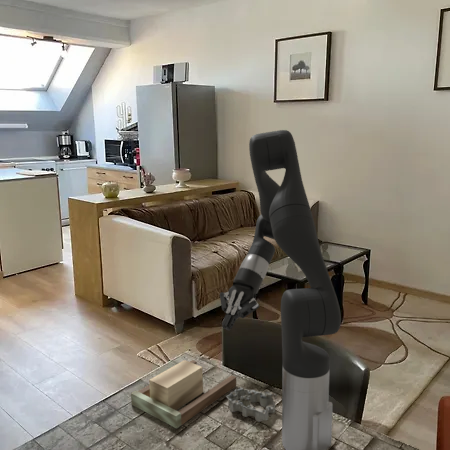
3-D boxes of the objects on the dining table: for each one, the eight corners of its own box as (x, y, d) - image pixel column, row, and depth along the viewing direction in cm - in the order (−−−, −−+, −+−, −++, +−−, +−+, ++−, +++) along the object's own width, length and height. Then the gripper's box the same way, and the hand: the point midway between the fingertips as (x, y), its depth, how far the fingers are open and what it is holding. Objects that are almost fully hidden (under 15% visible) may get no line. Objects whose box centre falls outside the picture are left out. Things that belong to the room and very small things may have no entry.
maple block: (203, 392, 114) (202, 366, 113) (168, 416, 105) (167, 388, 103) (185, 385, 118) (184, 359, 116) (150, 406, 108) (149, 379, 107)
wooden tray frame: (236, 386, 116) (236, 375, 116) (176, 428, 100) (176, 416, 99) (192, 368, 126) (192, 358, 125) (131, 404, 109) (130, 393, 109)
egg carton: (279, 410, 107) (279, 394, 106) (262, 426, 101) (262, 409, 100) (241, 395, 113) (241, 379, 112) (223, 409, 107) (223, 393, 106)
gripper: (227, 263, 132) (200, 316, 125) (265, 270, 124) (239, 328, 117) (238, 276, 137) (213, 328, 130) (276, 284, 129) (251, 340, 122)
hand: (225, 328), depth 123 cm, fingers closed
